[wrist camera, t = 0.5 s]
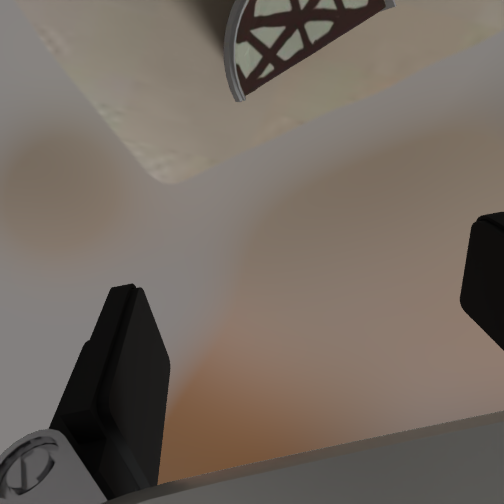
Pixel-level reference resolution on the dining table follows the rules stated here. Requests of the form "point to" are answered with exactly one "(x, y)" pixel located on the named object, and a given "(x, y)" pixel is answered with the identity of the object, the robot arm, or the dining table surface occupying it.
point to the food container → (284, 35)
